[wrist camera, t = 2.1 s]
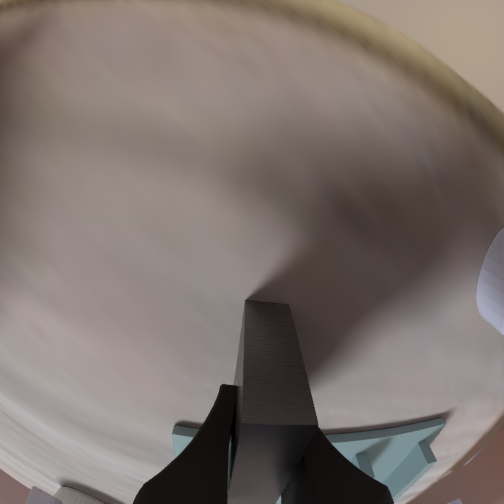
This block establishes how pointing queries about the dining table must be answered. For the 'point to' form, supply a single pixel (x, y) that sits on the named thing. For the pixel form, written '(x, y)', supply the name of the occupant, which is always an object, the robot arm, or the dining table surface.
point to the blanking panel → (268, 406)
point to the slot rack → (373, 451)
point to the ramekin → (75, 497)
